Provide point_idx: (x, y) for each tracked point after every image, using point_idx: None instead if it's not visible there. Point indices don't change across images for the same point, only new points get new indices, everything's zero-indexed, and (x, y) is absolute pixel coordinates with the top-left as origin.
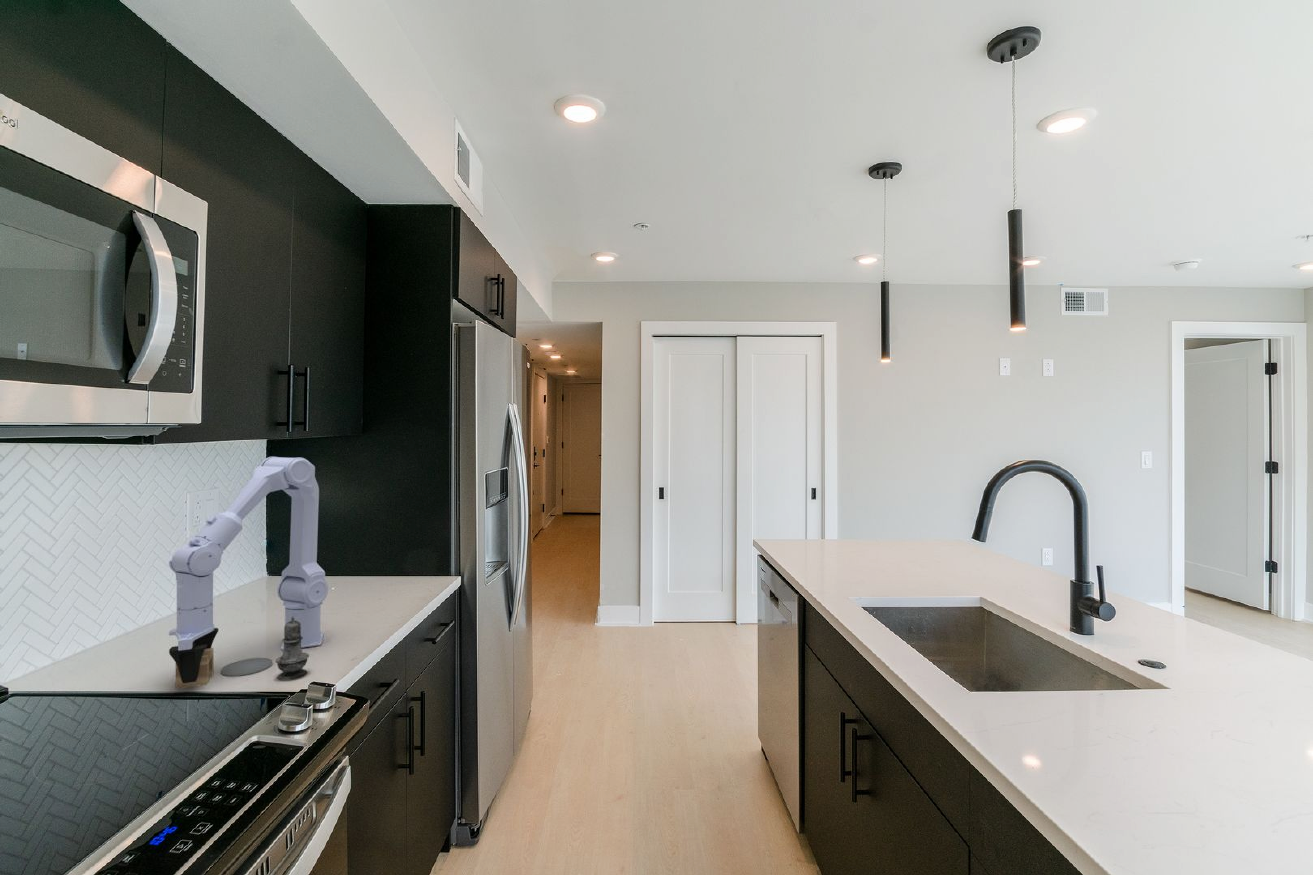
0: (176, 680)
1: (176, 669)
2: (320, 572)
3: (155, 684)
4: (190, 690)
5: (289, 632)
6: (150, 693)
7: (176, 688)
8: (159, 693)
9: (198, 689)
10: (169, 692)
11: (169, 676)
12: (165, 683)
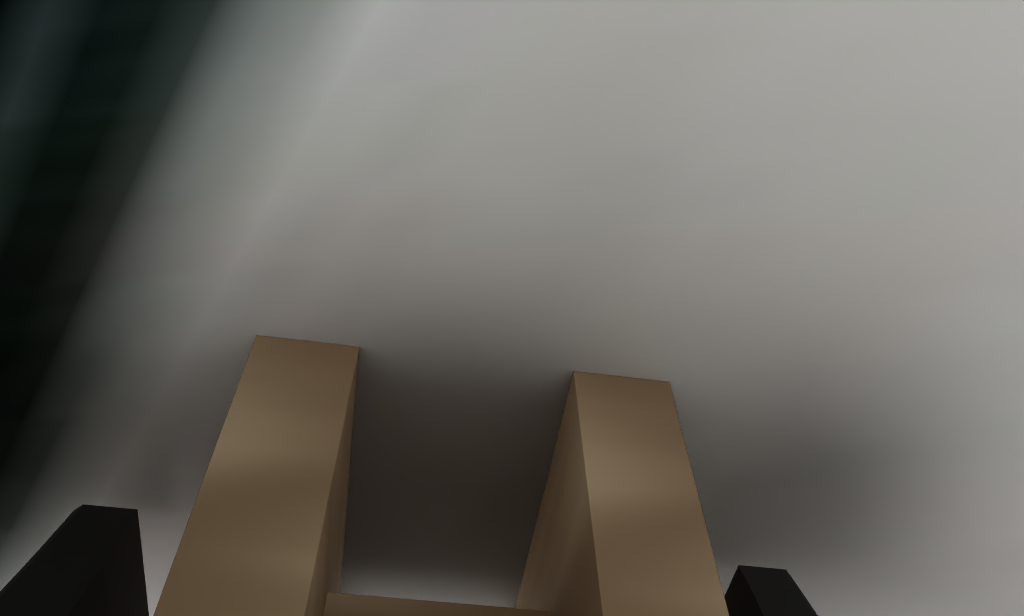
0: (224, 436)
1: (165, 606)
2: None
3: (673, 45)
4: (97, 486)
5: None
6: (189, 19)
7: (254, 348)
8: (128, 156)
9: None
10: (118, 280)
11: (963, 211)
12: (615, 190)
